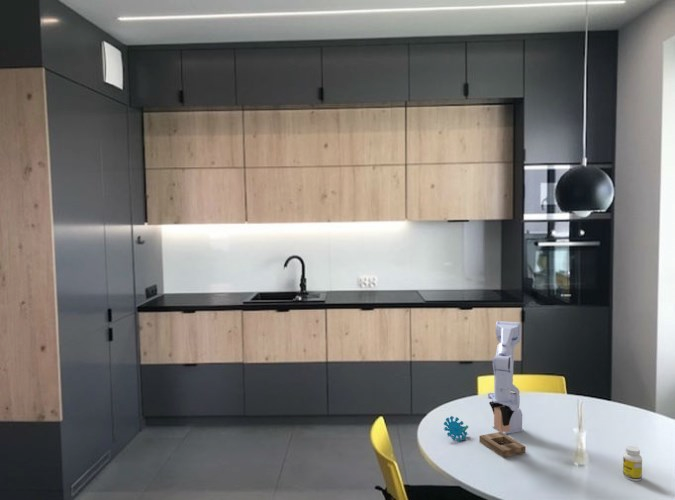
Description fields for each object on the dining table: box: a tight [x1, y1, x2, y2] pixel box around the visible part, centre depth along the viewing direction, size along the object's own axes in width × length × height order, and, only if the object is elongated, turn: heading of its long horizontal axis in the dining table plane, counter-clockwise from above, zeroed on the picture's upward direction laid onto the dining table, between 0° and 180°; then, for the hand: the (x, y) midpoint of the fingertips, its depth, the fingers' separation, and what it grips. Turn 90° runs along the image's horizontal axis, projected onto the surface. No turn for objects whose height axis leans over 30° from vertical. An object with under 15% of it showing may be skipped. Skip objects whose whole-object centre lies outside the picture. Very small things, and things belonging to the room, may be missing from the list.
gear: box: [443, 415, 469, 442], centre depth 200 cm, size 11×6×10 cm
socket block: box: [479, 431, 527, 459], centre depth 190 cm, size 10×14×2 cm
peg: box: [493, 406, 510, 432], centre depth 189 cm, size 4×4×8 cm
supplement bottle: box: [622, 445, 643, 482], centre depth 166 cm, size 5×5×10 cm
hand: (502, 422), depth 189 cm, fingers closed on peg, 4 cm apart
